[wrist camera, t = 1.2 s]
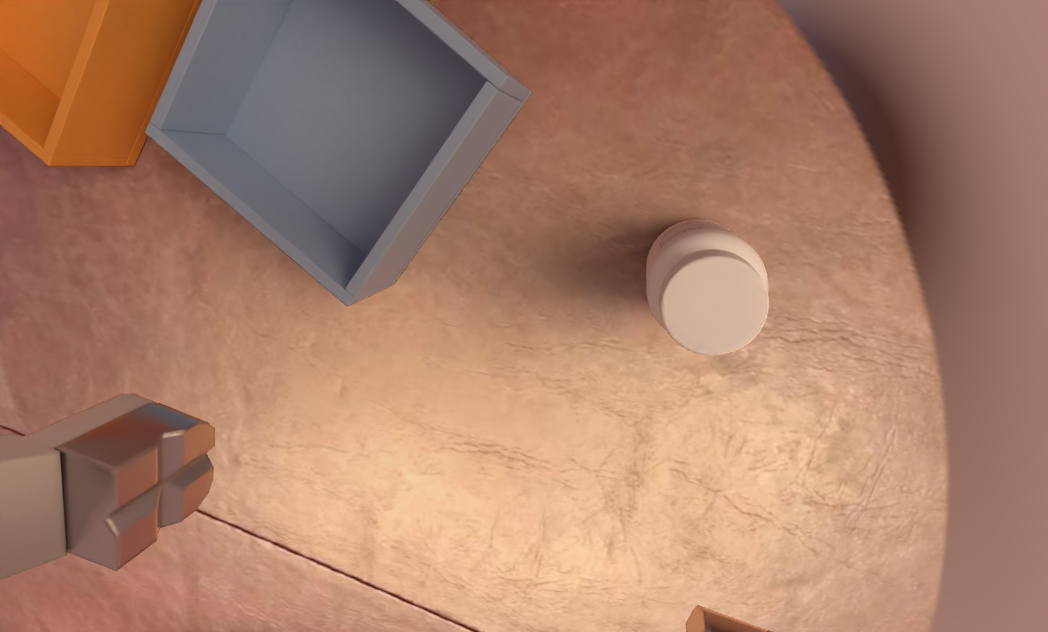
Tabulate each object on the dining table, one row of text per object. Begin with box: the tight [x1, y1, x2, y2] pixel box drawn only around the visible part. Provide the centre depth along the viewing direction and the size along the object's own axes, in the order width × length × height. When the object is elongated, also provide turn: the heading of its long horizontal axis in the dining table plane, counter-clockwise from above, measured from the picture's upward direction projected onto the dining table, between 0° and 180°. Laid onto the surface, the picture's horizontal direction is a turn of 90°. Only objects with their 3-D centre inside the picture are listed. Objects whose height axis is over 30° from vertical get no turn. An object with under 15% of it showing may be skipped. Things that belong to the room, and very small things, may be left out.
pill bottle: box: [646, 219, 769, 355], centre depth 21 cm, size 4×4×8 cm
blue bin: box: [145, 0, 532, 306], centre depth 24 cm, size 12×12×5 cm
